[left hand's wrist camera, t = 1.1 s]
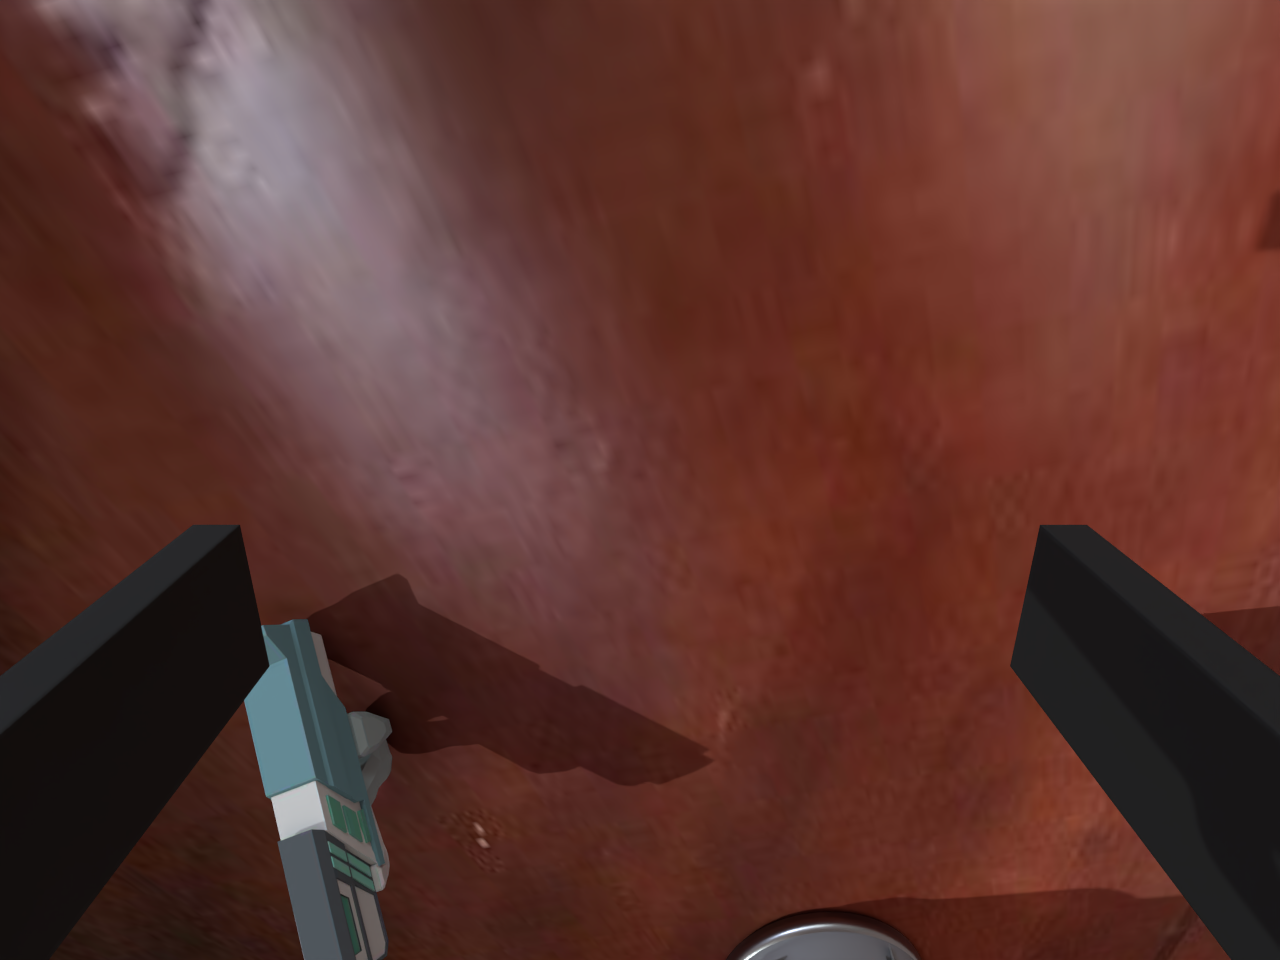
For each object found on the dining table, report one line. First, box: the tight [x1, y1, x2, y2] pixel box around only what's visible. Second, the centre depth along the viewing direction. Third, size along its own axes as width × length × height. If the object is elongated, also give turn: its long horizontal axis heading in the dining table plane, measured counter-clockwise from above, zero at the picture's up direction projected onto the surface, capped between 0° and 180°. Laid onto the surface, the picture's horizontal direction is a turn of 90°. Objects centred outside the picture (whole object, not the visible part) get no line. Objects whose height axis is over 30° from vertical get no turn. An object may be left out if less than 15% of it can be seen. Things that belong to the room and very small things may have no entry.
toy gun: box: [244, 619, 392, 960], centre depth 43 cm, size 4×19×10 cm
